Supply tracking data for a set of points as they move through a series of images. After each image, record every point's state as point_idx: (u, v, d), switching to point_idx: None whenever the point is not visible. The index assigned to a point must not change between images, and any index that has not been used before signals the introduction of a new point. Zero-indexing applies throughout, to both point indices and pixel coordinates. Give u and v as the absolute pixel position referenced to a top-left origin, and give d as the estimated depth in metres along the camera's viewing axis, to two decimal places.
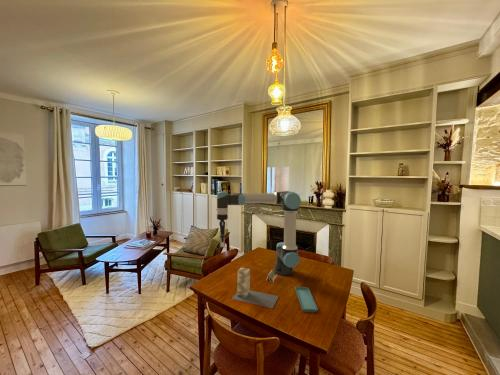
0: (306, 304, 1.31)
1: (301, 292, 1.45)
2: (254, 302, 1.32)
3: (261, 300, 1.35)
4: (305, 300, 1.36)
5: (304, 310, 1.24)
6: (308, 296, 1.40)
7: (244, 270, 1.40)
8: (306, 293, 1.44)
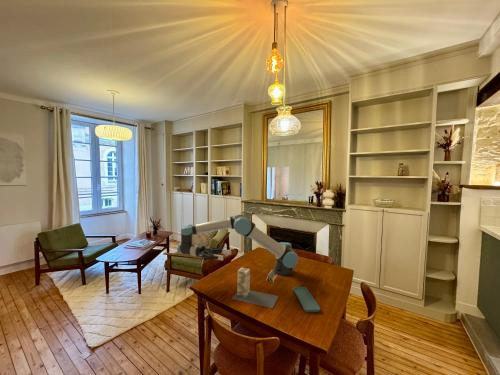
0: (307, 304, 1.31)
1: (300, 292, 1.45)
2: (254, 302, 1.32)
3: (261, 300, 1.35)
4: (305, 300, 1.36)
5: (307, 310, 1.24)
6: (307, 296, 1.41)
7: (244, 270, 1.40)
8: (305, 293, 1.44)
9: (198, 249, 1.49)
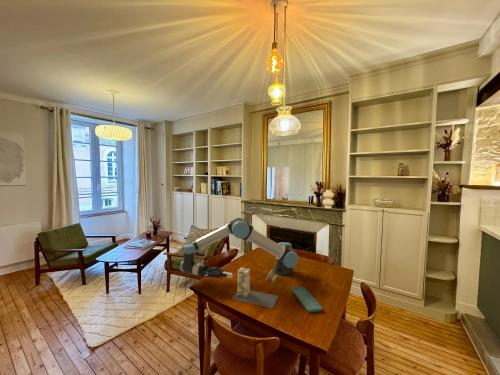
0: (308, 304, 1.31)
1: (299, 292, 1.45)
2: (254, 302, 1.32)
3: (261, 300, 1.35)
4: (305, 300, 1.36)
5: (310, 311, 1.24)
6: (306, 296, 1.41)
7: (244, 270, 1.40)
8: (303, 293, 1.44)
9: (201, 268, 1.48)
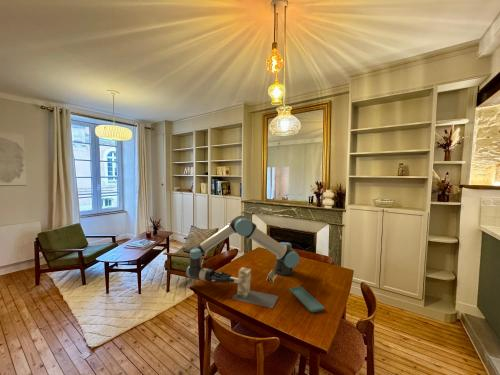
0: (309, 304, 1.31)
1: (297, 292, 1.45)
2: (254, 302, 1.32)
3: (261, 300, 1.35)
4: (306, 300, 1.36)
5: (312, 311, 1.24)
6: (306, 295, 1.41)
7: (246, 270, 1.40)
8: (302, 293, 1.45)
9: (207, 273, 1.46)
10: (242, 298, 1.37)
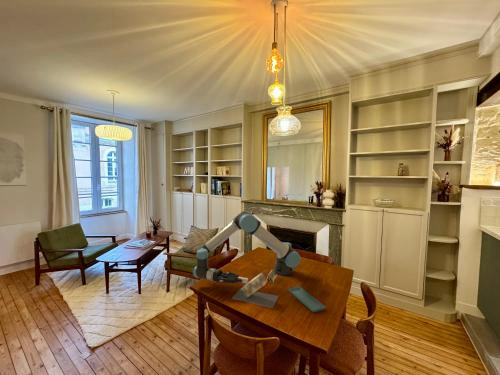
0: (310, 304, 1.31)
1: (296, 293, 1.45)
2: (254, 302, 1.32)
3: (261, 300, 1.35)
4: (306, 300, 1.36)
5: (314, 311, 1.24)
6: (305, 295, 1.41)
7: (264, 279, 1.36)
8: (301, 293, 1.45)
9: (215, 274, 1.45)
10: (242, 298, 1.37)
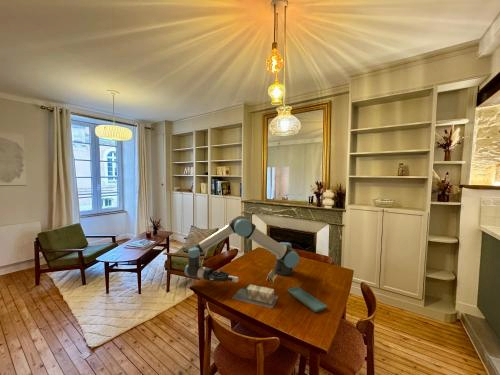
0: (311, 304, 1.32)
1: (295, 293, 1.44)
2: (254, 302, 1.32)
3: None
4: (306, 300, 1.36)
5: (316, 310, 1.24)
6: (304, 295, 1.41)
7: (272, 297, 1.34)
8: (300, 293, 1.44)
9: (206, 272, 1.47)
10: (242, 298, 1.37)
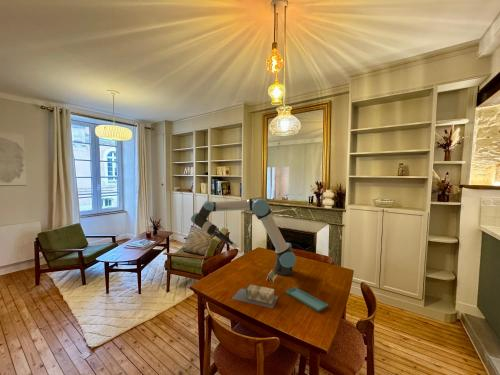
0: (312, 303, 1.32)
1: (294, 293, 1.43)
2: (254, 302, 1.32)
3: None
4: (306, 300, 1.36)
5: (319, 310, 1.25)
6: (303, 295, 1.41)
7: (272, 297, 1.34)
8: (298, 293, 1.44)
9: (213, 226, 1.58)
10: (242, 298, 1.37)
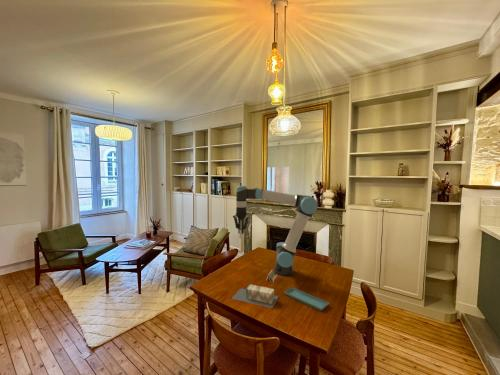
0: (313, 303, 1.32)
1: (293, 294, 1.43)
2: (254, 302, 1.32)
3: None
4: (306, 300, 1.36)
5: (322, 309, 1.25)
6: (302, 295, 1.41)
7: (272, 297, 1.34)
8: (297, 293, 1.44)
9: None
10: (242, 298, 1.37)
